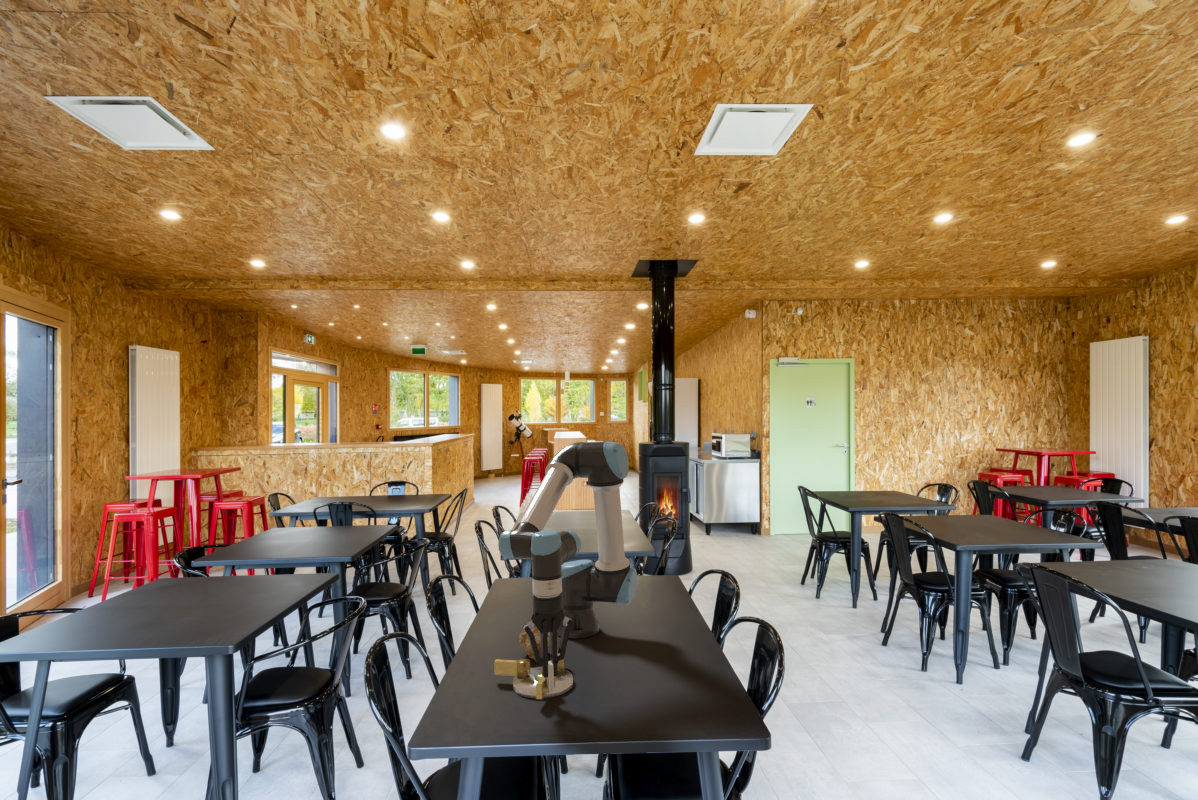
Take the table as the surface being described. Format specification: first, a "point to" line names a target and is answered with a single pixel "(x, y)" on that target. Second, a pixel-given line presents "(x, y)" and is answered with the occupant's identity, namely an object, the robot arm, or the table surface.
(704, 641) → the table surface
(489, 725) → the table surface
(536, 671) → the tribrach plate
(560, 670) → the knob
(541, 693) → the knob
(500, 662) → the knob
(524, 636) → the rock
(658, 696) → the table surface
